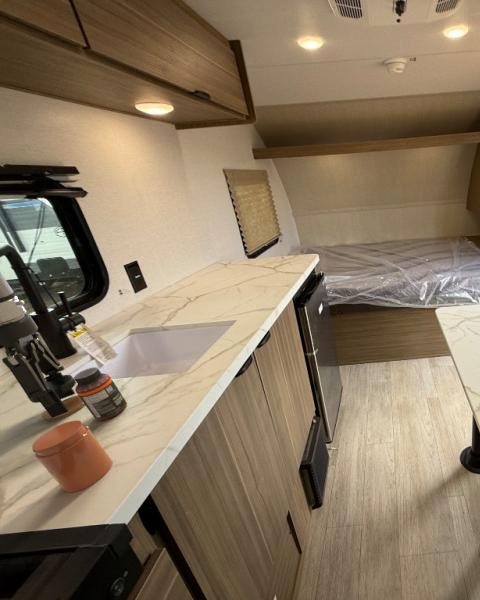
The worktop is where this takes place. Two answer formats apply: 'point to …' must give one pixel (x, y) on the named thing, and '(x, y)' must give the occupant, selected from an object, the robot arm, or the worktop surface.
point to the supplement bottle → (99, 394)
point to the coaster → (72, 406)
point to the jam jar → (72, 455)
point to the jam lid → (59, 385)
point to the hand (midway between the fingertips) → (64, 404)
